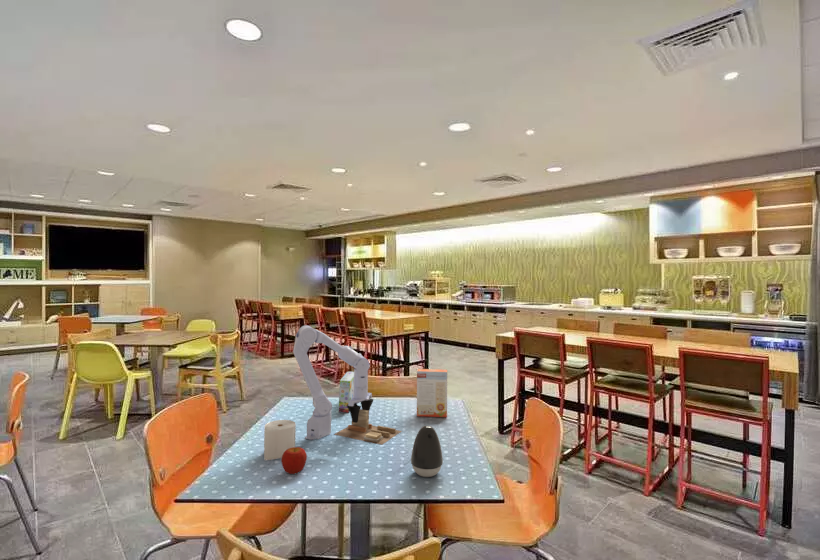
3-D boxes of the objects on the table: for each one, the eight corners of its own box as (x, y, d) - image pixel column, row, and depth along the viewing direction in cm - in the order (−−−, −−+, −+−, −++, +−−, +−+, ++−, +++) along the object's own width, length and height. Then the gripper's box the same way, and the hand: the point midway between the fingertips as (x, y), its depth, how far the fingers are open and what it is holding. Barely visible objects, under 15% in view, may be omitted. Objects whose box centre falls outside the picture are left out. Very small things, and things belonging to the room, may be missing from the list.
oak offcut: (376, 439, 156) (376, 436, 156) (365, 437, 158) (365, 434, 158) (381, 436, 159) (381, 433, 159) (370, 434, 161) (370, 431, 161)
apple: (296, 464, 139) (297, 441, 139) (311, 471, 134) (312, 447, 134) (276, 472, 133) (276, 447, 133) (291, 480, 128) (291, 454, 128)
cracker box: (447, 413, 195) (447, 369, 195) (447, 418, 189) (447, 371, 189) (417, 412, 196) (417, 368, 196) (416, 416, 190) (416, 370, 190)
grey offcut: (377, 442, 155) (377, 439, 155) (364, 439, 158) (364, 437, 158) (382, 439, 159) (383, 436, 159) (369, 436, 162) (369, 433, 162)
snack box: (350, 413, 194) (350, 380, 194) (338, 412, 194) (338, 380, 194) (356, 400, 215) (357, 371, 215) (345, 400, 215) (346, 370, 216)
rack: (381, 447, 153) (382, 440, 153) (333, 437, 163) (333, 430, 163) (402, 434, 168) (402, 427, 168) (356, 425, 178) (356, 418, 178)
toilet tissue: (295, 445, 154) (295, 418, 155) (295, 459, 143) (295, 429, 143) (265, 448, 152) (265, 420, 152) (262, 462, 140) (262, 432, 140)
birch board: (366, 430, 168) (366, 412, 168) (351, 427, 171) (351, 409, 171) (368, 429, 170) (368, 410, 170) (354, 426, 173) (354, 408, 173)
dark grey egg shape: (416, 483, 127) (416, 433, 127) (407, 468, 137) (407, 422, 137) (447, 479, 130) (448, 430, 130) (436, 465, 140) (437, 419, 140)
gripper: (359, 391, 162) (358, 426, 162) (378, 383, 175) (377, 415, 175) (344, 389, 165) (343, 423, 165) (364, 381, 178) (363, 413, 178)
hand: (360, 419), depth 170 cm, fingers open, 7 cm apart
